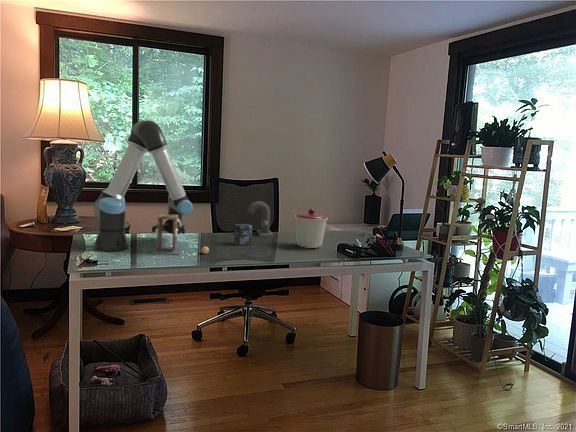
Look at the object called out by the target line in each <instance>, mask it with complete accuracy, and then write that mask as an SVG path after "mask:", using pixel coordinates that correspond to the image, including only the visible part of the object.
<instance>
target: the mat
mask: <svg viewBox="0 0 576 432" xmlns="http://www.w3.org/2000/svg"><path fill="white" fill-rule="evenodd" d="M182 251H183V248H182V247H176V248H175V250H172V247H163V246H161V248H160V249H157V246H155V247H154V248H153V249H152V250H151V251H150V255H163V254H167V255H168V254H169V255H168V256H180V255H179V254H181V253H182Z"/></svg>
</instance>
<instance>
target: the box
mask: <svg viewBox="0 0 576 432" xmlns="http://www.w3.org/2000/svg"><path fill="white" fill-rule="evenodd" d="M233 233H234V235H233V236H234V237H233V244H234V245H236V246H250V245H252V236H253V225H251V224H249V223H242V224H240V223H238V224H237V223H236V224H234V232H233Z"/></svg>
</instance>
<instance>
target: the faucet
mask: <svg viewBox="0 0 576 432" xmlns="http://www.w3.org/2000/svg"><path fill="white" fill-rule="evenodd" d="M258 209H259V210H261V211H262V217H261V221H260V226H261V228H260V229H259V228H258V229H256V233H257V235H258V234H259V235H258V236H259V238H275V234H273V232H272V231H271V230H270V222H271V221H270V220H271V219H270V218H271V210H270V207H269V205H268V204H267V203H266V202H263V201H260V200H259V201H254V202H252V203H250V205H248V208H247V211H246V212H247V213H248V214H252V213H253V214H254V213H255V211H256V210H258Z"/></svg>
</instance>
